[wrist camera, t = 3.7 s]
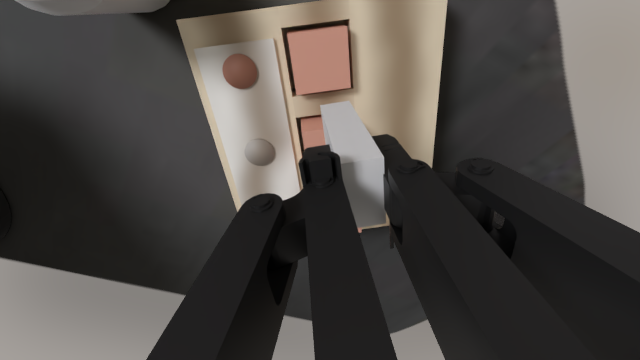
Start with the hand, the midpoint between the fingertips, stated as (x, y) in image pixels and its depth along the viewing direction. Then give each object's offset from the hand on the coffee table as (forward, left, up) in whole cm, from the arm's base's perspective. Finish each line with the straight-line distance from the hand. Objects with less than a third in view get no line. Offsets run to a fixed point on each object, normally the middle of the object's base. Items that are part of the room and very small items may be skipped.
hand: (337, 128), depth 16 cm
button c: (0, +2, -13) cm, 13 cm away
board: (0, -5, -14) cm, 15 cm away
